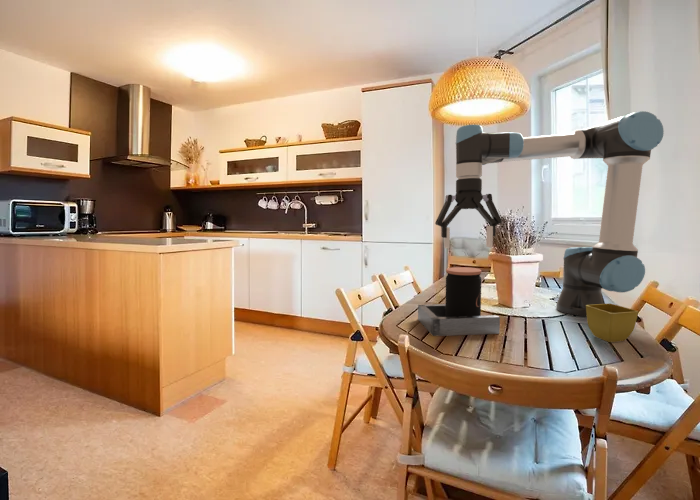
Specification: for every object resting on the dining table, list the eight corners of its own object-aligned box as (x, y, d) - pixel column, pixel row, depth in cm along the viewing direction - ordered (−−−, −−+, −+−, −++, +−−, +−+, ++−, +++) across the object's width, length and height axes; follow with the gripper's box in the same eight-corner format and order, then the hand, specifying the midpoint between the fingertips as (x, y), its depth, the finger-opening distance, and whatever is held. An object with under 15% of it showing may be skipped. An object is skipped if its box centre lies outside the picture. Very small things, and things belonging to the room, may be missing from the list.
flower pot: (637, 343, 99) (639, 310, 98) (610, 346, 97) (612, 313, 96) (608, 333, 107) (610, 303, 106) (583, 335, 106) (584, 304, 105)
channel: (475, 317, 125) (476, 303, 124) (499, 333, 108) (499, 317, 107) (418, 319, 123) (418, 304, 123) (432, 336, 107) (433, 319, 106)
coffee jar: (482, 332, 110) (484, 272, 108) (446, 330, 112) (446, 271, 110) (477, 321, 120) (479, 267, 118) (444, 320, 122) (445, 266, 120)
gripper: (502, 178, 116) (501, 245, 119) (425, 180, 115) (425, 247, 117) (514, 176, 109) (513, 247, 111) (432, 177, 107) (432, 250, 109)
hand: (468, 247), depth 114 cm, fingers open, 13 cm apart
